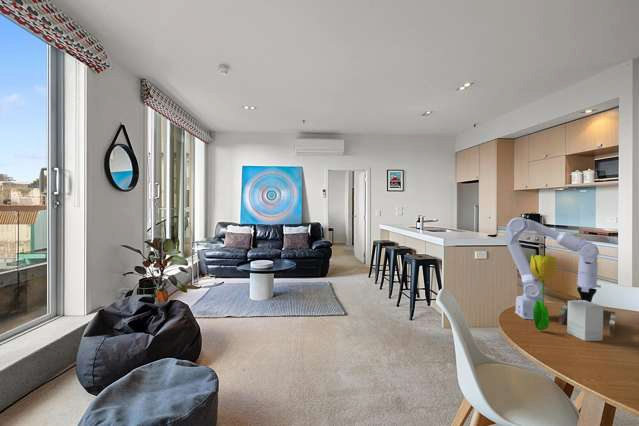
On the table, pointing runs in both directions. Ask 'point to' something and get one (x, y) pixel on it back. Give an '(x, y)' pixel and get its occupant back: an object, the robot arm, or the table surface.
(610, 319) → the cold frame
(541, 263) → the flower
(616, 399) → the table surface
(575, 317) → the supplement box
